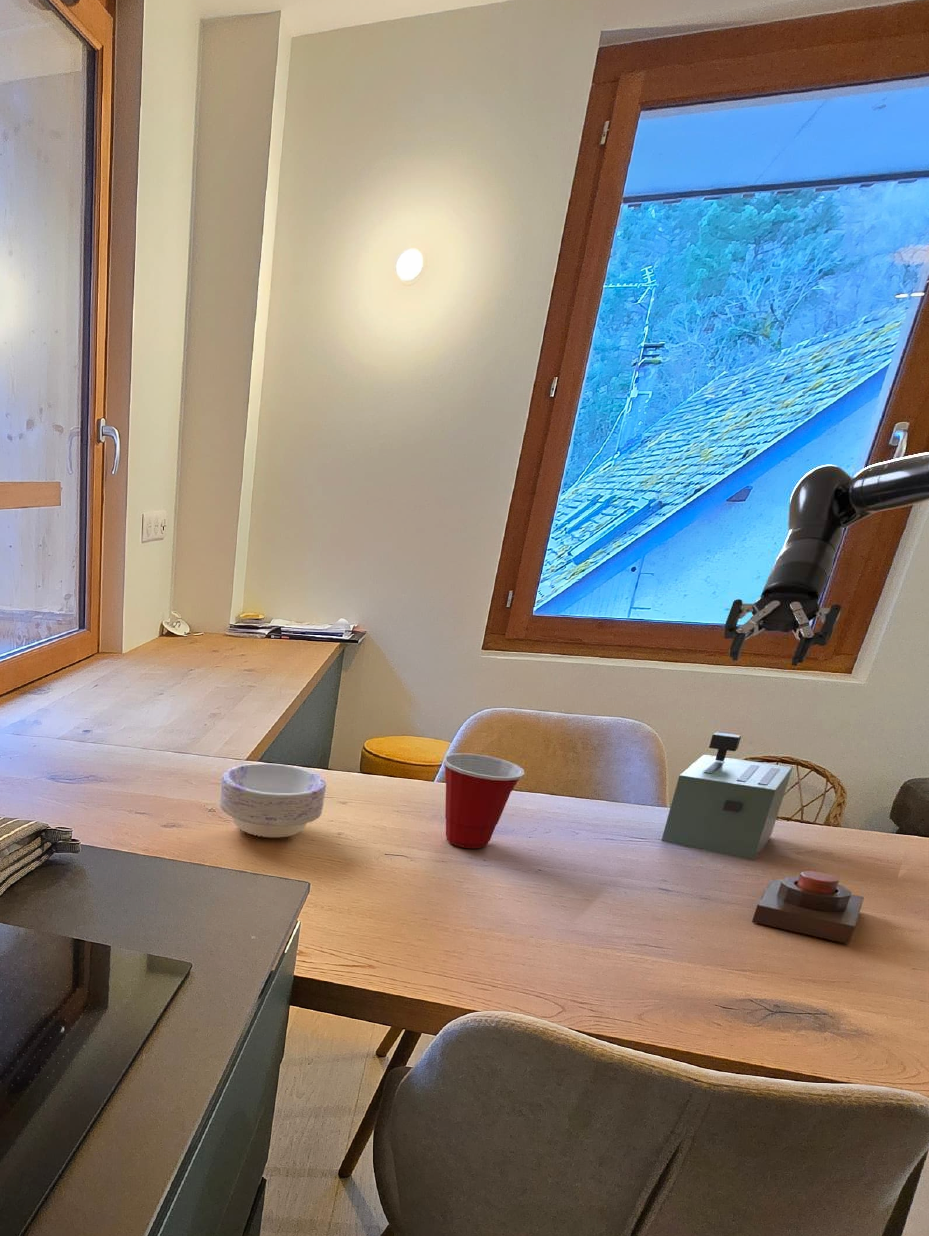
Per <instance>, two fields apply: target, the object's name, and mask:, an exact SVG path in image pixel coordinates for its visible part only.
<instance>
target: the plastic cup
mask: <svg viewBox="0 0 929 1236" xmlns="http://www.w3.org/2000/svg"><path fill="white" fill-rule="evenodd" d="M443 765H444V769H445V770H444V771H445V772H444V773H445V778H444V779H445V806H444V807H445V813H444V815H445V816H444V818H445V836H446V838H445V839H446V841H447V842H448V843H449V844H452V845H454V846H456V847H461V848H465V849H481V848H485V847H486V846H488V845H489V842H490V841H491V839H492V836H493V834H494V831H495V828H496V826H497V825H498V823H499V822H500V819H501V816H502V814H503V812H504V809H505V807H506V805H507V803H508V800H509V797H510V795H511V793H512V792H513V790H514V788H515V787H516V785H517V783H518V782H519V781H520V779H521V778H523V777H524V776H525V774H526V773H525V770H524V768H523V767H521V766H519V765H518V764H516V763H512V762H511V761H508V760H505V759H502V758H498V757H493V756H489V755H483V754H476V753H463V752H460V753H459V752H458V753H450V754H447V755H444V756H443Z"/></svg>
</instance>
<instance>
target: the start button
mask: <svg viewBox="0 0 929 1236" xmlns="http://www.w3.org/2000/svg"><path fill="white" fill-rule="evenodd" d="M798 877H799V880H798V882H797V885H796V886H798V887H800V888H803V889H806V890H809V891H814V892H819V893H830V894H833V893H835V891H836V888H837V885H839V882H840V879H839V878H838V877H837V876H836V875H833V874H831V873H830V874H829V873H827V872H826V873H825V872H821V871H816V870H815V871H814V870H805V871H801V872H800V874H799V876H798Z"/></svg>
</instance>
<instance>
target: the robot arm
mask: <svg viewBox="0 0 929 1236" xmlns="http://www.w3.org/2000/svg"><path fill="white" fill-rule="evenodd" d="M928 501H929V452H922V453H918V454H913V455H908V456H904V457H899V458H895V459H891V460H887V461H883V462H878V463H875V464H872V465H869V466H867V467H865V468H863V469H861V470H860V471H859V472H857V473H856V474H855V475H854V477H852V476H850V474H848V473H847V472H846V471H845V470H844V469H843V468H841V467H839V466H837V465H833V464H825V465H821V466H817V467H816V468H814V469H812V470H810V471H809V472H807V473H805V475H803V477H802V478H801V479H800V480H799V481H798V482H797V484H796V485H795V487H794V489H793V491H792V493H791V496H790V500H789V507H788V522H787V523H788V524H787V525H788V527H787V528H788V534H787V536H786V538H785V540H784V543H783V546H782V548H781V551H780V553H779V554H778V556H777V557H776V559H775V561H774V562H773V565H772V568H771V570H770V572H769V575H768V577H767V580H766V583H765V585H764V587H763V589H762V591H761V594H760V596H759V599H757V600H756V601H754V602H753V603H743V599H739V598H738V599H735V600H733V602H732V605H731V607H730V610H729V612H728V615H727V618H726V621H725V623H724V628H723V639H725V640H729V639H731V640H732V642H731V644H730V647H729V652H728V657H730V658H731V661H733V662H738V661H739V658H740V657H741V654H742V651H743V648H744V646H745V644H746V641H747V640H749V639H750V638H751V637H756V636H757V635H759V634H760V633H762V632H763V631H765V632H775V631H776V632H777V631H778V632H782V633H790V632H791V631H792V633H793V635H794V637H795V639H796V640H798V642H797V645H796V648H795V651H794V654H793V656H792V660H791V663H790V664H791V667H792V666H793V667H797V666H799V665H798V664H803V663H804V662H805V661H806V659H807V656H808V654H809V651H810V648H812V647H813V646H816V645H818V646H819V647H823V646H826V645H828V643H829V641H830V639H831V636H832V634H833V633H834V630H835V628H836V626H837V623H838V620H839V619H840V615H841V611H842V605H841V604H833V605H832V606H831V607H824V606H823V607H821V606H820V604H819V603H820V600H821V597H822V594H823V592H824V590H825V587H826V585H827V582H828V581H829V579H830V577H831V571H832V570H833V565H834V560H835V557H836V554H837V551H838V550H839V546H840V544H841V542H842V539H843V535H844V529H846V528H847V527H850V526H851V525H853V524H855V523H857V522H859V521H861V520H864V519H865V518H867V517H868V518H869V517H870V516H872V515H874V514H876V513H878V512H879V513H880V512H884V511H889V510H896V509H901V508H905V507H906V508H907V507H910V506H913V505H918V504H921V503H924V502H928ZM748 613H751V614H752V616H750V617H749V619H748V620H747V621H746V622H744V623H743V624H742V625H740V626H739V627H738V626H737V625H738V622H739V620H741V619H743V618H744V617H745V616H746V615H747V614H748ZM817 617H820V622H821V623H822V626H821V629H820V631H816V632H814V631H813V629H812V627H811V625H810V621H812V620H814V619H815V618H817Z"/></svg>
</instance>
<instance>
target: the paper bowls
mask: <svg viewBox="0 0 929 1236" xmlns="http://www.w3.org/2000/svg"><path fill="white" fill-rule="evenodd" d="M220 780H221V782H220V796H219V806H220V807H219V808H220V809H221V810H222V811H223V813H224V814H226V815H228V816H230V817H231V819H232V821H233V823H234V825H235V826H236V827H237V828H238V829H239V830H240V831H242V832H244V831H245V832H244V833H246V832H247V833H246V834H250V835H252V834H253V836H256V835H257V836H256V837H261V836H262V837H261V838H286V837H291V836H294V835H296V834H298V833H300V832H301V831H302V830H304V829H305V828H306V826H307V824H308V823H313V822H314V821H316V820H317V819H319V818H320V817H321V816H322V815H323V814H322V813H323V807H324V803H325V798H326V797H325V795H326V789H327V784H326V781H325V779H324V778H323V777H322V776H321V775H320V774H319V775H318V774H317V773H316V772H314V771H312V770H308V769H305V768H301V767H298V766H294V765H287V764H282V763H281V764H280V763H270V762H269V763H268V762H267V763H266V762H265V763H264V762H263V763H260V762H259V763H258V762H257V763H247V764H241V765H237V766H233V767H230V768H229V769H227V770H226V771H224V773H223V774H222V776H221V779H220Z"/></svg>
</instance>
